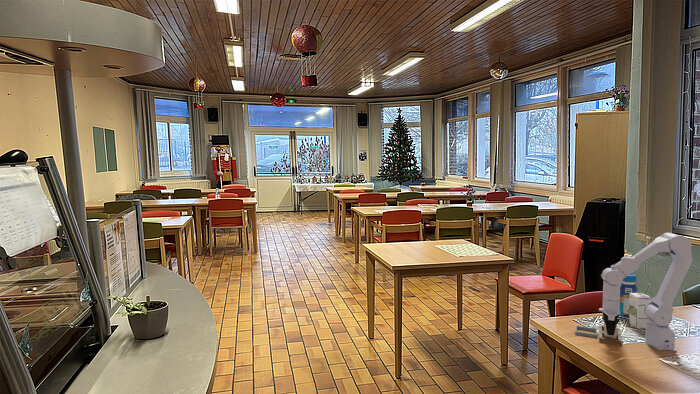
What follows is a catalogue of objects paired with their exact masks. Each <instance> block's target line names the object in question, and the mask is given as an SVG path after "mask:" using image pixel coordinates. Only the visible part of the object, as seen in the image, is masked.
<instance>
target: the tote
mask: <svg viewBox="0 0 700 394" xmlns="http://www.w3.org/2000/svg"><path fill="white" fill-rule="evenodd" d="M578 330H580V331H578ZM582 330H583V331H589V332H583V331H582ZM590 332H593V333H590ZM594 332H595V333H594ZM574 333H575V334H574V335H576V336H583V337H589V338H594V339H595V338H596V339H597V338H598V328H595V327H587V326H581V325H575V331H574Z"/></svg>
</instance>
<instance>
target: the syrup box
mask: <svg viewBox="0 0 700 394" xmlns="http://www.w3.org/2000/svg"><path fill="white" fill-rule="evenodd" d="M650 301H651V296H650V295H648V294H645V293H643V292H637V293H630V297H629V319H628V324H629V325H631V326H633V327H634V328H635V329H646V319H647V316H646V315H645V314H644V307H645V306H646V305H647V304H648V303H649V302H650Z"/></svg>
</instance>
